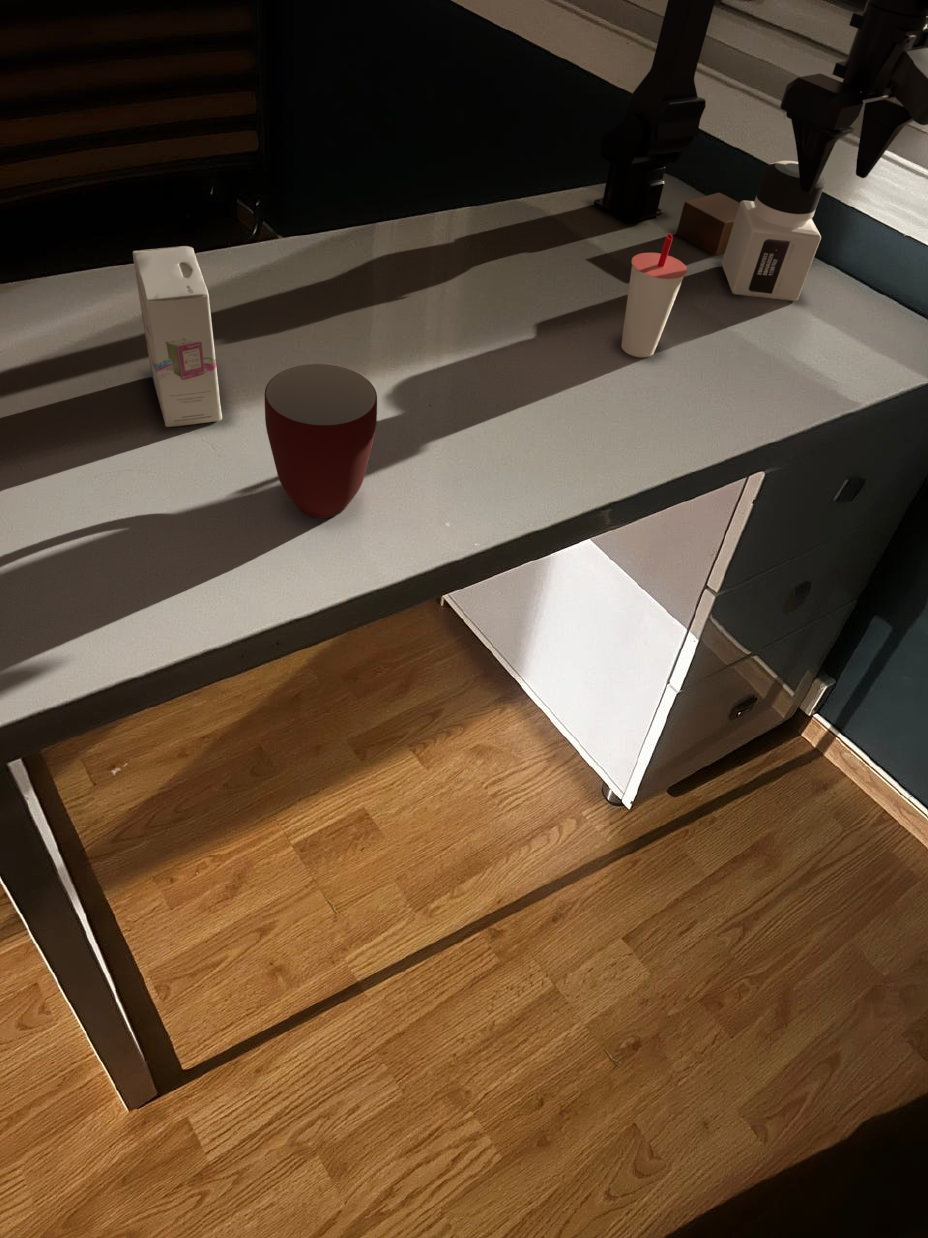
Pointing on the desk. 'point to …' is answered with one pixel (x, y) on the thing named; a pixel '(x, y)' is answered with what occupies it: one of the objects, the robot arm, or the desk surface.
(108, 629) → the desk surface
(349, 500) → the mug
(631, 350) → the cup
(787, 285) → the container
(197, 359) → the ink box
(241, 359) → the desk surface
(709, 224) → the walnut block
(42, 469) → the desk surface
